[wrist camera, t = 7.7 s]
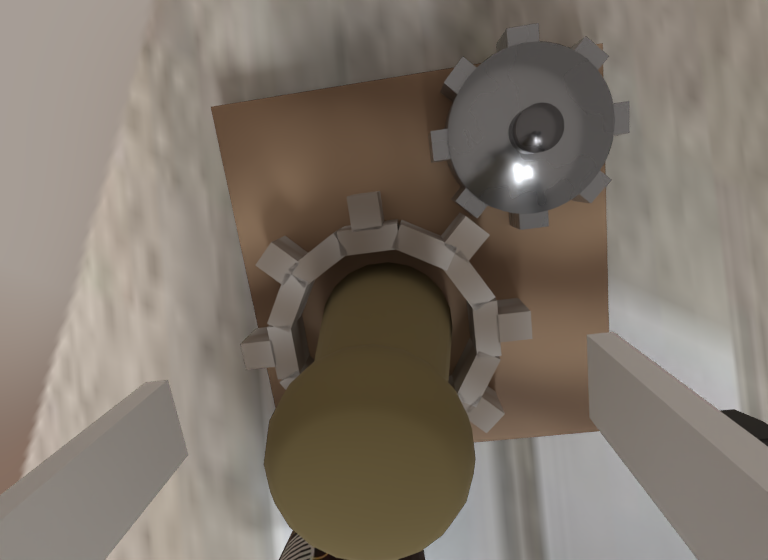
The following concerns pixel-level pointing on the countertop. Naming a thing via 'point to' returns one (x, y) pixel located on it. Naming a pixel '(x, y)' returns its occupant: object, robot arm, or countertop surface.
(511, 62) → the gear
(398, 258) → the gear board
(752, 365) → the countertop surface
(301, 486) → the cork
